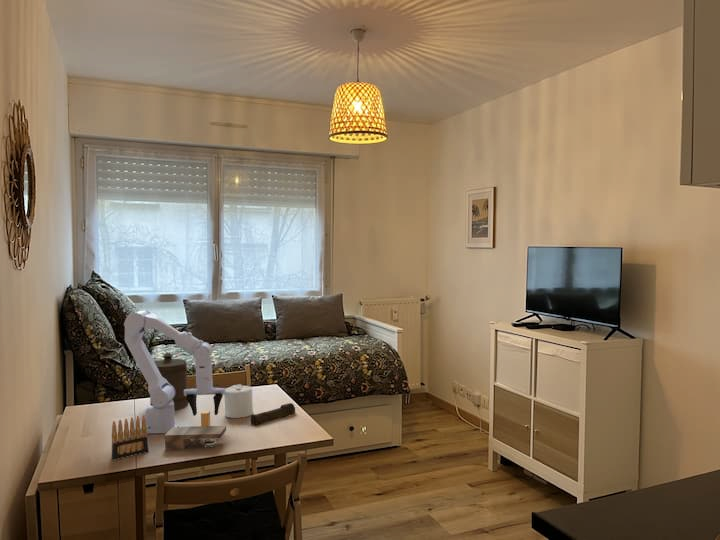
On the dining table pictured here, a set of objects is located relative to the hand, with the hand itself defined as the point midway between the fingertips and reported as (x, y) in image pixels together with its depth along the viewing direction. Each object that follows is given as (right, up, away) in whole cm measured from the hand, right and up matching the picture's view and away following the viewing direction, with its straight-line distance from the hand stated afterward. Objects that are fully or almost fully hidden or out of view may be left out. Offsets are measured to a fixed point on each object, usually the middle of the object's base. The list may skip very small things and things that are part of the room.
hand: (205, 414), depth 199 cm
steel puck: (+6, -6, -16) cm, 18 cm away
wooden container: (-23, -4, +29) cm, 38 cm away
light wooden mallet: (0, -5, -5) cm, 7 cm away
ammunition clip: (-17, -7, -23) cm, 30 cm away
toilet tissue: (+8, -4, +17) cm, 19 cm away
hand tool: (+23, -5, +10) cm, 26 cm away
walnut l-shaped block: (+1, -6, -16) cm, 17 cm away
